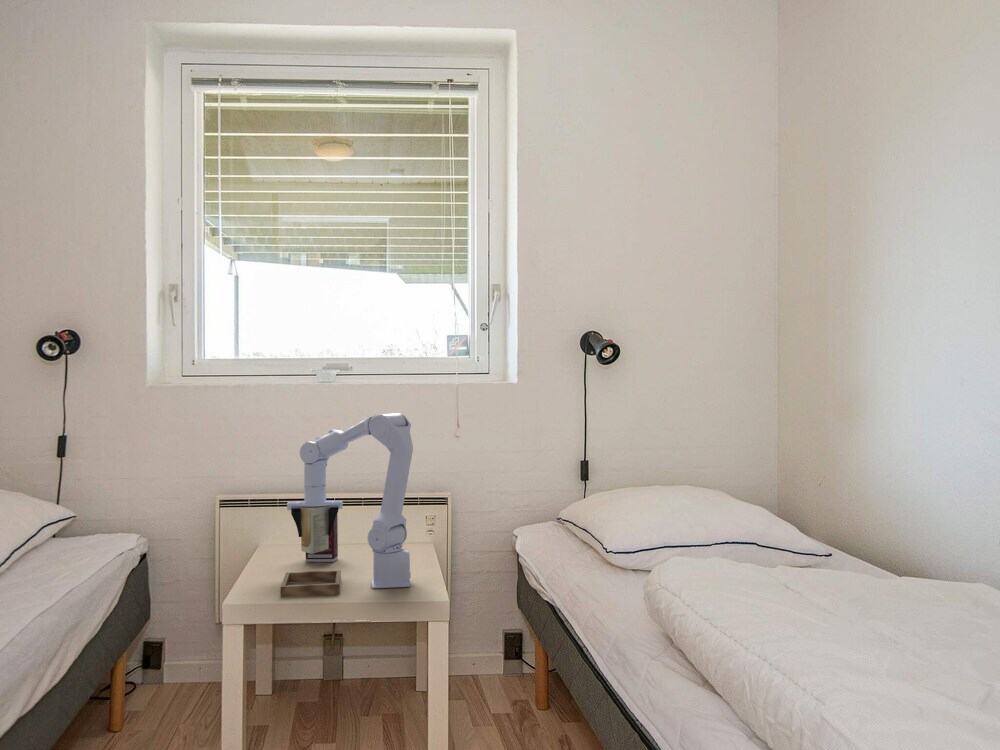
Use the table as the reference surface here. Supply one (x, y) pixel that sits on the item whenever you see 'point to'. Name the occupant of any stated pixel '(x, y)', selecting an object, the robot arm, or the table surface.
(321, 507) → the skincare box
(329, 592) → the walnut box
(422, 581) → the table surface
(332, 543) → the supplement box
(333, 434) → the robot arm
